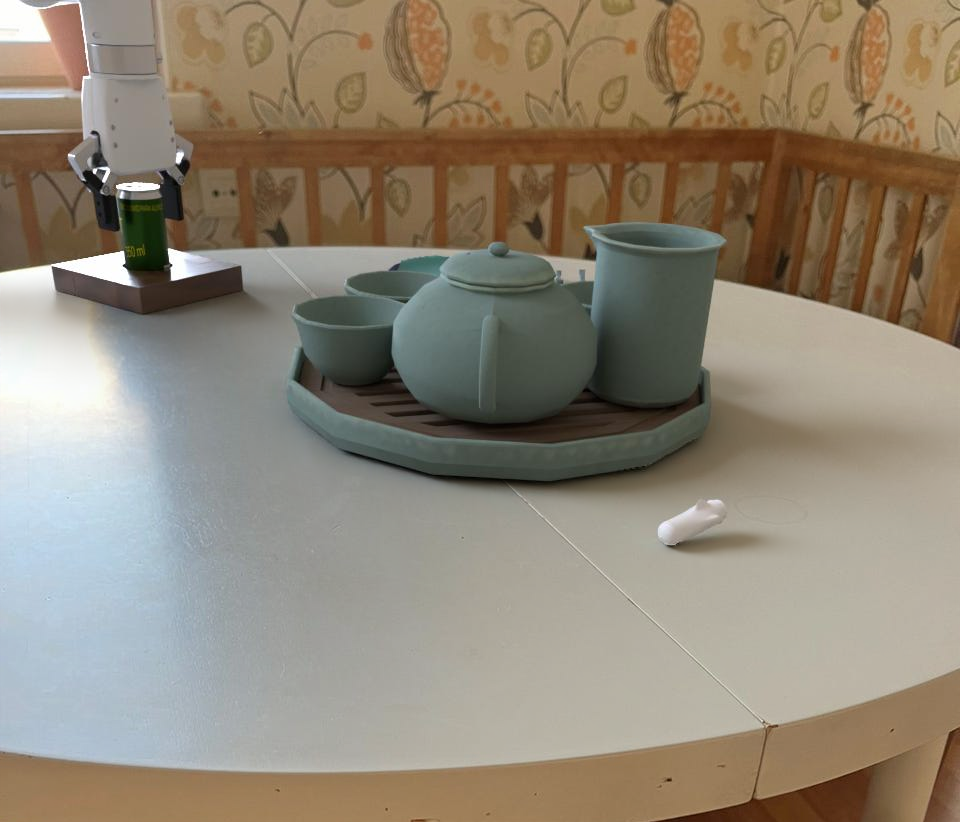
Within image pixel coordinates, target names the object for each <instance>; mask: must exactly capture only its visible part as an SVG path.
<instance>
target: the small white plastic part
mask: <svg viewBox="0 0 960 822" xmlns="http://www.w3.org/2000/svg"><path fill="white" fill-rule="evenodd" d="M727 516H728V510H727V507H726V505H725V503H724V502H723V501H722V500H720V499H709V500H707V501H706V499H705V498H699V499H698V500H697V502H696V503H695V505H693V506H691V507H690V508H688V509H687V510H686V511H683V512H682V513H679V514H678V515H676V516H673V517H671V518H670V519H667V520H665V521H663V522H661V523H660V524H659V526H658V528H657V536H658V538H656V539H654V542H656V541H658V540H659V541H660V540H661V541H663V542H666V543H668V544H677V543H679V542H681V543H683V542H684V540H685V541H687V540H689V539H691V538H693V537H696V536H697V535H699V534H701V533H704V532H705V531H707V530H709V529H711V528H713V527H715V526H717V525H720V524H722V523H723V521H724V520H725V519H726V518H727ZM686 539H687V540H686ZM661 541H660V542H661ZM682 541H683V542H682ZM679 544H680V543H679ZM677 545H678V544H677Z"/></svg>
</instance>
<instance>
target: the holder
mask: <svg viewBox="0 0 960 822" xmlns="http://www.w3.org/2000/svg"><path fill="white" fill-rule="evenodd" d="M168 249H169V258H170V267H171V268H169V269H164V270H158V271H134V270H128V269H125V261H124V254H123V251H120V252H114V253H108V254H104V255H98V256H93V257H88V258H82V259H77V260H70V261H66V262H61V263H55V264H51V265H50V267H51V273H52V278H53V284H54V290H55V291H57V292H61V293H64V294H68V295H72V296H76V297H78V298H81V299H86V300H89V301H93V302H97V303H101V304H104V305H107V306H111V307H115V308H117V309H118V308H119V309H122V310H125V311H129V312H132V313H137V314H140V315H146V314H150V313H154V312H159V311H163V310H166V309H171V308H175V307H179V306H184V305H188V304H192V303H196V302H199V301H200V302H201V301H203V300H208V299H212V298H216V297H220V296H225V295H228V294H233V293H237V292H240V291H243V290H244V282H243V269H242V268H243V267H242V265H241V264H236V263H232V262H229V261H224V260H219V259H214V258H210V257H205V256H202V255H197V254H193V253H188V252H184V251H180V250H175V249H172V248H168Z"/></svg>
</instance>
